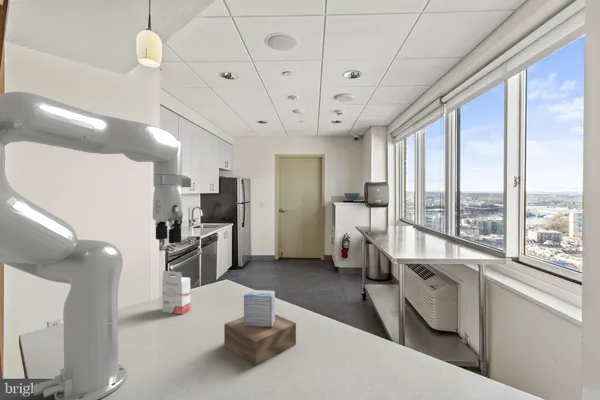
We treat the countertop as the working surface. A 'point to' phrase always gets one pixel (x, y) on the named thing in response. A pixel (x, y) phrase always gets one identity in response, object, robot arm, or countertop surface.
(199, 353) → the countertop surface
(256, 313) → the medicine box
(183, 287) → the ink cartridge box
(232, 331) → the block
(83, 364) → the robot arm
